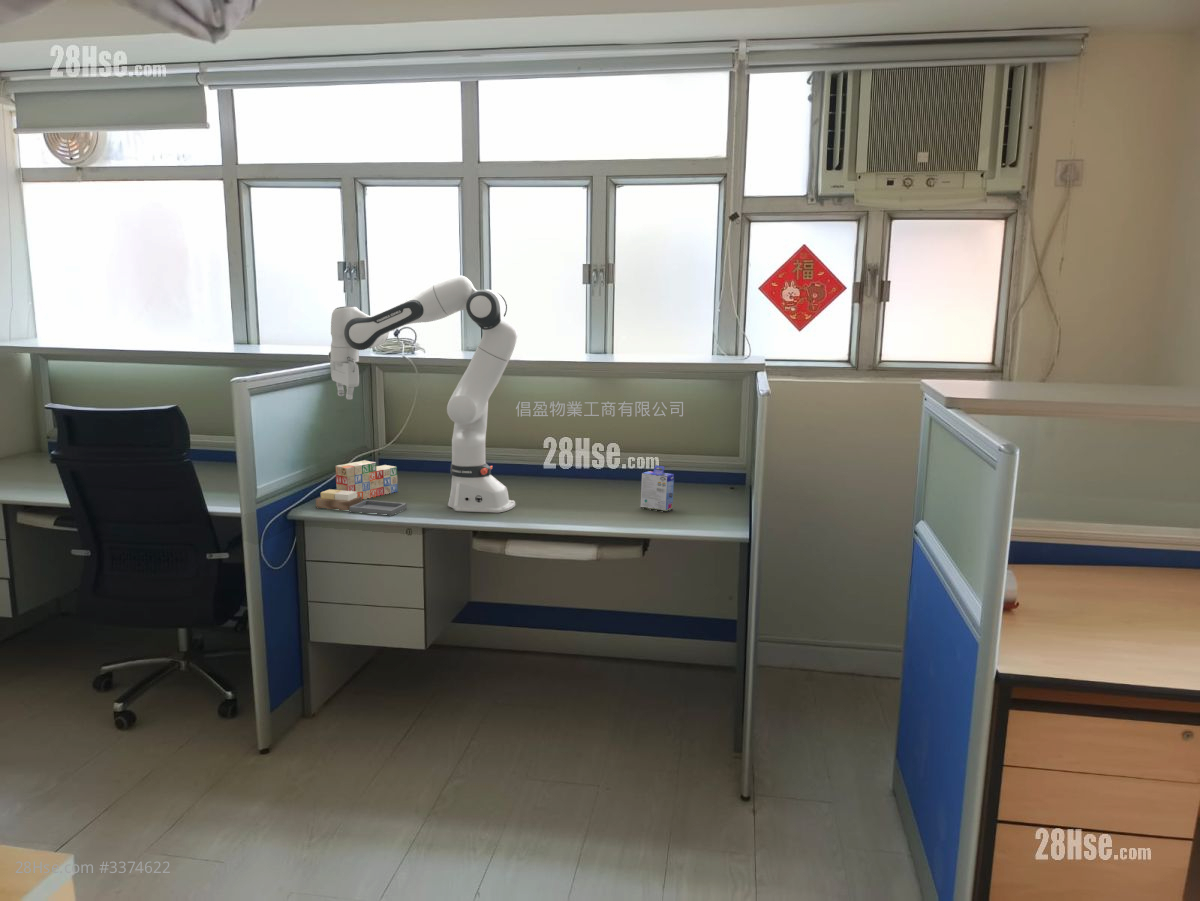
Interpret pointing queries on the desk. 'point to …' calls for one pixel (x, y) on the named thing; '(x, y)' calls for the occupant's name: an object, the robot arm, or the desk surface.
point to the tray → (378, 507)
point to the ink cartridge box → (657, 489)
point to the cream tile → (345, 495)
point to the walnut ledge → (337, 503)
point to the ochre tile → (329, 494)
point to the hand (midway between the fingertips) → (345, 397)
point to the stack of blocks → (367, 478)
